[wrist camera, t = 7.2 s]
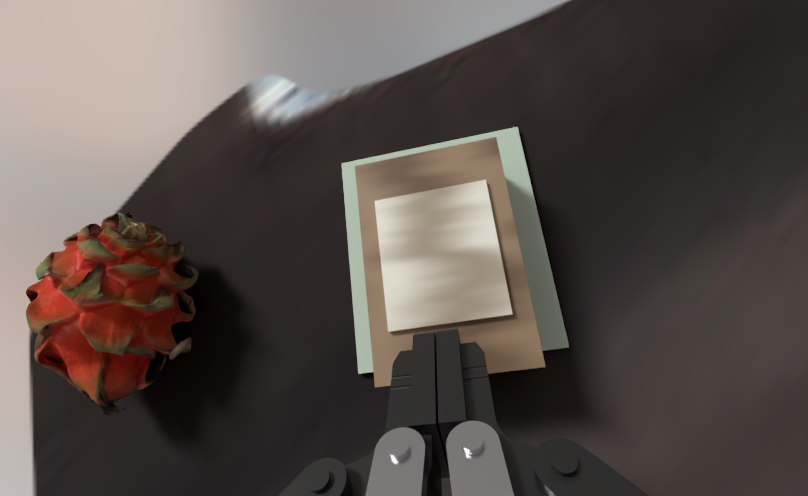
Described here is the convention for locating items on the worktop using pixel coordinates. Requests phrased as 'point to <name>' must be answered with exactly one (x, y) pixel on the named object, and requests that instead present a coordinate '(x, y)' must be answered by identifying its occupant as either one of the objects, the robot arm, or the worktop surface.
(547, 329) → the mat
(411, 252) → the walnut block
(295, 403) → the worktop surface
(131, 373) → the dragon fruit
